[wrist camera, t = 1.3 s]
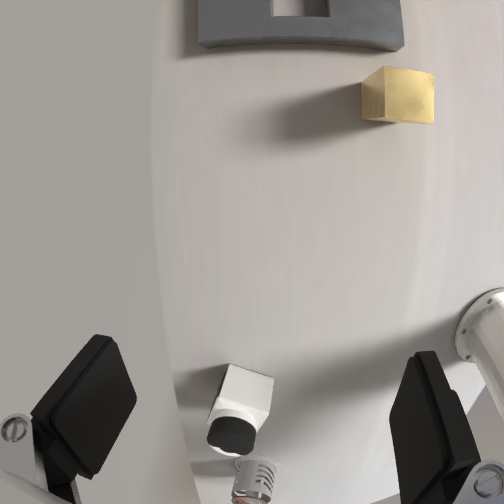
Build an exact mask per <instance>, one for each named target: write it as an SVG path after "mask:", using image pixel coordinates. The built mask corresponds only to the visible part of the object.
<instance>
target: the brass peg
mask: <svg viewBox="0 0 504 504" xmlns="http://www.w3.org/2000/svg"><path fill="white" fill-rule="evenodd" d="M361 119H365V120H376V121H385V122H394V123H421V124H434V86H433V74H431V73H426V72H420V71H415V70H409V69H403V68H397V67H390V66H383V67H382V68H380V69H379V70H377V71H376V72H374V73H373V74H372V75H370V76H369V77H368V78H366V79H365V80H363V81H362V82H361Z"/></svg>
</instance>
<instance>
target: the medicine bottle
mask: <svg viewBox="0 0 504 504" xmlns="http://www.w3.org/2000/svg"><path fill="white" fill-rule="evenodd" d="M273 386H274V378H271V377H268V376H265V375H262V374H259V373H255V372H252V371H249V370H246V369H243V368H241V367H238V366H235V365H232V364H228V366H227V368H226V371H225V373H224V376H223V378H222V381H221V383H220V386H219V388H218V391H217V393H216V396H215V399H214V402H213V405H212V408H211V411H210V414H209V417H208V420H207V424H208V425H210V426H211V427H210V430H209V433H208V436H207V442H208V443H209V445H210V446H211V448H213V449H214V450H215V451H217V452H219V453H221V454H224V455H228V456H244V455H247V454H248V453H250V452H251V451H252V450H253V447H254V442H255V437H256V433H257V432H258V430H259V429H260V427H261V426H262V424H263V423H264V421H265V420H266V418H267V417H268V415H269V411H270V405H271V399H272V392H273Z"/></svg>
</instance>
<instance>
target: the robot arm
mask: <svg viewBox="0 0 504 504" xmlns="http://www.w3.org/2000/svg"><path fill="white" fill-rule="evenodd" d="M455 346H456V349H457V352H458V354H459V355H460V357H461V358H462V359H463V360H465V361H467V362H470V363H476V365H477V367H478V369H479V371H480V373H481V375H482V377H483V379H484V381H485V383H486V385H487V387H488V389H489V391H490V393H491V395H492V397H493V399H494V402H495V404H496V406H497V408H498V410H499V413H500V415H501V417H502V420H503V422H504V288H499V289H495V290H493V291H490V292H488V293H486V294H485V295H483V296H482V297H480V298H479V299H478V300H477V301H475V302H474V303H473V304H472V306H471V307H470V308H469V309H468V310H467V311H466V313H465V314H464V315H463V317H462V319H461V321H460V323H459V325H458V328H457V330H456V335H455ZM136 401H137V396H136V393H135V390H134V388H133V385H132V383H131V381H130V378H129V375H128V373H127V370H126V367H125V365H124V362H123V360H122V357H121V354H120V351H119V348H118V345H117V343H116V342H114V340H113V339H112V338H111V337H109V336H104V335H98V334H96V335H94V336H93V337H92V338H91V339H90V340H89V341H88V343H87V344H86V345H85V346H84V347H83V349H82V350H81V351H80V352H79V353H78V354H77V356H76V357H75V358H74V359H73V360H72V362H71V363H70V364H69V365H68V366H67V368H66V369H65V370H64V371H63V373H62V374H61V375H60V376H59V378H58V379H57V380H56V381H55V382H54V384H53V385H52V386H51V387H50V389H49V390H48V391H47V392H46V394H45V395H44V396H43V397H42V399H41V400H40V401H39V402H38V404H37V405H36V406H35V408H34V409H33V410H32V412H31V413H30V414H31V415H32V416H33V418H32V419H31V420H30V419H29V418H28V417H27V416H26V415H24V414H20V413H19V414H13V415H10V416H8V417H7V418H5V419H4V420H3V421H2V422H1V424H0V504H82V503H81V500H80V496H79V492H78V489H77V485H76V481H75V477H76V475H77V473H78V474H79V475H80V476H83V477H85V478H88V479H90V480H91V479H92V478H93V476H94V474H97V473H99V471H100V469H101V467H102V465H103V464H104V462H105V460H106V458H107V456H108V454H109V452H110V450H111V448H112V446H113V445H114V443H115V441H116V439H117V437H118V436H119V433H120V432H121V430H122V428H123V426H124V424H125V422H126V421H127V419H128V417H129V415H130V413H131V412H132V410H133V408H134V406H135V404H136ZM389 422H390V428H391V434H392V440H393V446H394V452H395V459H396V466H397V473H398V481H399V489H400V498H401V504H504V464H503V463H501V462H500V461H497V460H484V461H482V462H481V459H480V455H479V452H478V449H477V446H476V443H475V440H474V437H473V434H472V431H471V429H470V426H469V423H468V421H467V418H466V415H465V412H464V410H463V407H462V404H461V402H460V399H459V397H458V395H457V393H456V391H454V390H451V389H450V386H449V384H448V381H447V379H446V376H445V374H444V371H443V369H442V367H441V364H440V362H439V360H438V357H437V355H436V353H435V352H434V351H423V352H416V353H415V355H414V357H410V358H409V360H408V363H407V366H406V369H405V372H404V375H403V378H402V381H401V384H400V387H399V390H398V393H397V396H396V398H395V401H394V404H393V406H392V409H391V412H390V416H389Z"/></svg>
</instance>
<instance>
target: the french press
mask: <svg viewBox="0 0 504 504" xmlns="http://www.w3.org/2000/svg"><path fill="white" fill-rule="evenodd" d="M234 464H235V466H236V467H237V473H236V477H235V481H234V486H233V489H232V494H231V495H232V497H233V498H232V500H231V501H232V503H233V504H268V502H270V500H271V496H272V494H271V493H272V488H273V482H274V476H275V473H277V472H279V470H280V468H281V467H280V464H279V463H278V462H276V461H275V460H273V459H271V458H268V457H265V456H260V455H244V456H240V457H238V458H236V459H235V461H234ZM237 475H238V476H239V477H238V478H237ZM263 477H265V478H263ZM272 479H273V481H272ZM261 480H262V481H264V484H263V483H260V482H261ZM236 481H237V483H236ZM239 490H247V491H239ZM235 491H236V492H237V493H240V494H246V496H237V495H236V494H235V493H234V492H235ZM259 492H260V493H262V496H261V499H260V497H259V494H258V493H259Z"/></svg>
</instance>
